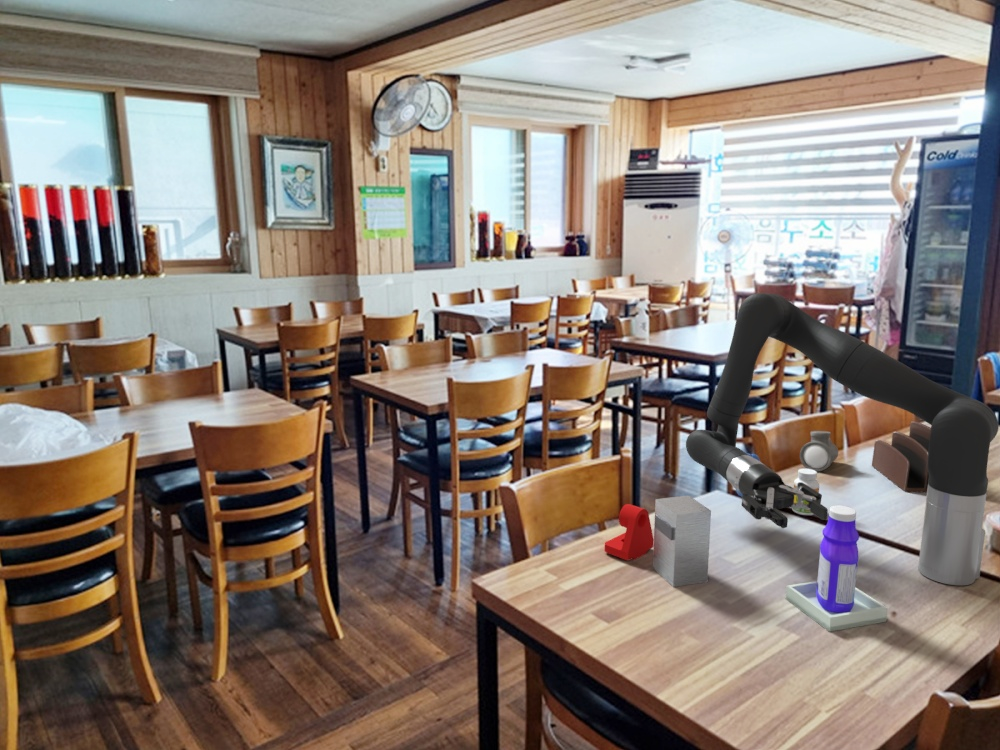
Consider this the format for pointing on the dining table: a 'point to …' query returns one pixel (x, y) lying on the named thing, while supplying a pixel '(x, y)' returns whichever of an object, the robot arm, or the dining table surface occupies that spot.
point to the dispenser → (681, 540)
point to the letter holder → (905, 458)
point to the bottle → (838, 561)
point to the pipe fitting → (818, 451)
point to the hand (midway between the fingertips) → (806, 519)
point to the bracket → (632, 534)
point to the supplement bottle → (808, 479)
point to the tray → (860, 614)
